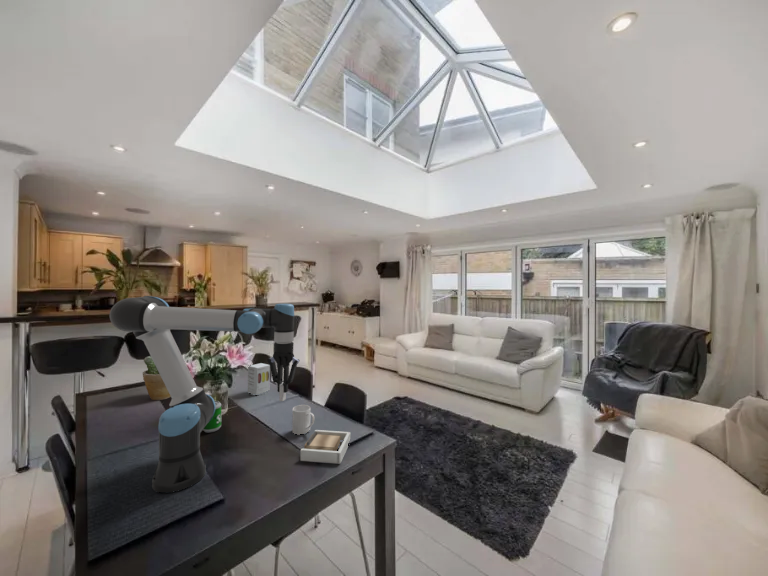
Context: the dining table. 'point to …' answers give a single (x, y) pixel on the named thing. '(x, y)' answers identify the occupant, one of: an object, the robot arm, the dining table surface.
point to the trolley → (322, 442)
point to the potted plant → (154, 381)
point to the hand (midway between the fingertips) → (282, 400)
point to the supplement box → (258, 378)
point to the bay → (327, 455)
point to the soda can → (214, 419)
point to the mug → (302, 419)
